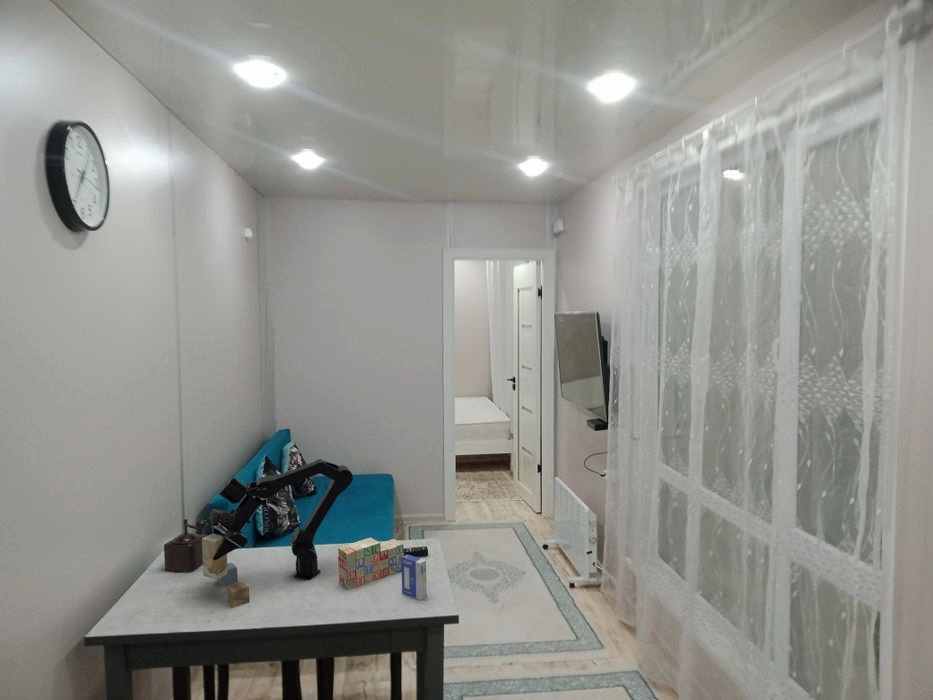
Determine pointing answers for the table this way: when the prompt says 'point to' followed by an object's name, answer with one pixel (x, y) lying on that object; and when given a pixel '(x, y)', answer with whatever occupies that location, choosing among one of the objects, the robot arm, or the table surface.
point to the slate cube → (229, 575)
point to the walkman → (414, 577)
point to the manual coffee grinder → (185, 549)
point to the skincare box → (210, 566)
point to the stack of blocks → (368, 561)
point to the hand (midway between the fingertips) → (209, 555)
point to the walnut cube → (238, 594)
